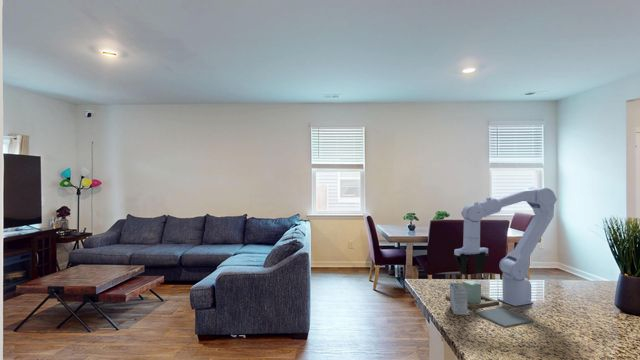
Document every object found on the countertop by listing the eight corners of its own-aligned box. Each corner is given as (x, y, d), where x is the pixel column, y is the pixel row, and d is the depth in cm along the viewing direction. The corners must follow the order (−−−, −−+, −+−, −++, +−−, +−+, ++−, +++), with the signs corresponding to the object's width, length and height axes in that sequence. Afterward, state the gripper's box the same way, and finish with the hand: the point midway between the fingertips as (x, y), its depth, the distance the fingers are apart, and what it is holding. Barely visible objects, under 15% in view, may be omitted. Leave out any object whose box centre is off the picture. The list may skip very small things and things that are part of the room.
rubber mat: (502, 308, 121) (502, 307, 121) (533, 321, 110) (533, 320, 110) (475, 313, 117) (475, 312, 117) (505, 327, 106) (504, 325, 106)
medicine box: (467, 315, 116) (467, 289, 116) (453, 314, 116) (453, 289, 116) (462, 307, 123) (462, 283, 123) (449, 306, 124) (449, 282, 124)
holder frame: (474, 294, 137) (474, 291, 137) (499, 304, 126) (499, 301, 126) (445, 298, 133) (445, 295, 133) (468, 309, 121) (468, 306, 121)
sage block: (470, 298, 132) (470, 280, 132) (481, 302, 128) (480, 283, 128) (462, 299, 131) (462, 281, 131) (472, 304, 126) (472, 285, 126)
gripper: (478, 234, 136) (477, 269, 136) (448, 236, 131) (448, 272, 131) (492, 237, 129) (492, 273, 129) (462, 239, 124) (461, 277, 124)
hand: (471, 273), depth 129 cm, fingers open, 7 cm apart
